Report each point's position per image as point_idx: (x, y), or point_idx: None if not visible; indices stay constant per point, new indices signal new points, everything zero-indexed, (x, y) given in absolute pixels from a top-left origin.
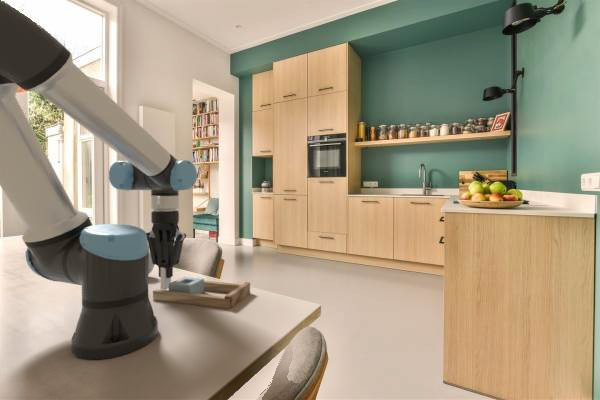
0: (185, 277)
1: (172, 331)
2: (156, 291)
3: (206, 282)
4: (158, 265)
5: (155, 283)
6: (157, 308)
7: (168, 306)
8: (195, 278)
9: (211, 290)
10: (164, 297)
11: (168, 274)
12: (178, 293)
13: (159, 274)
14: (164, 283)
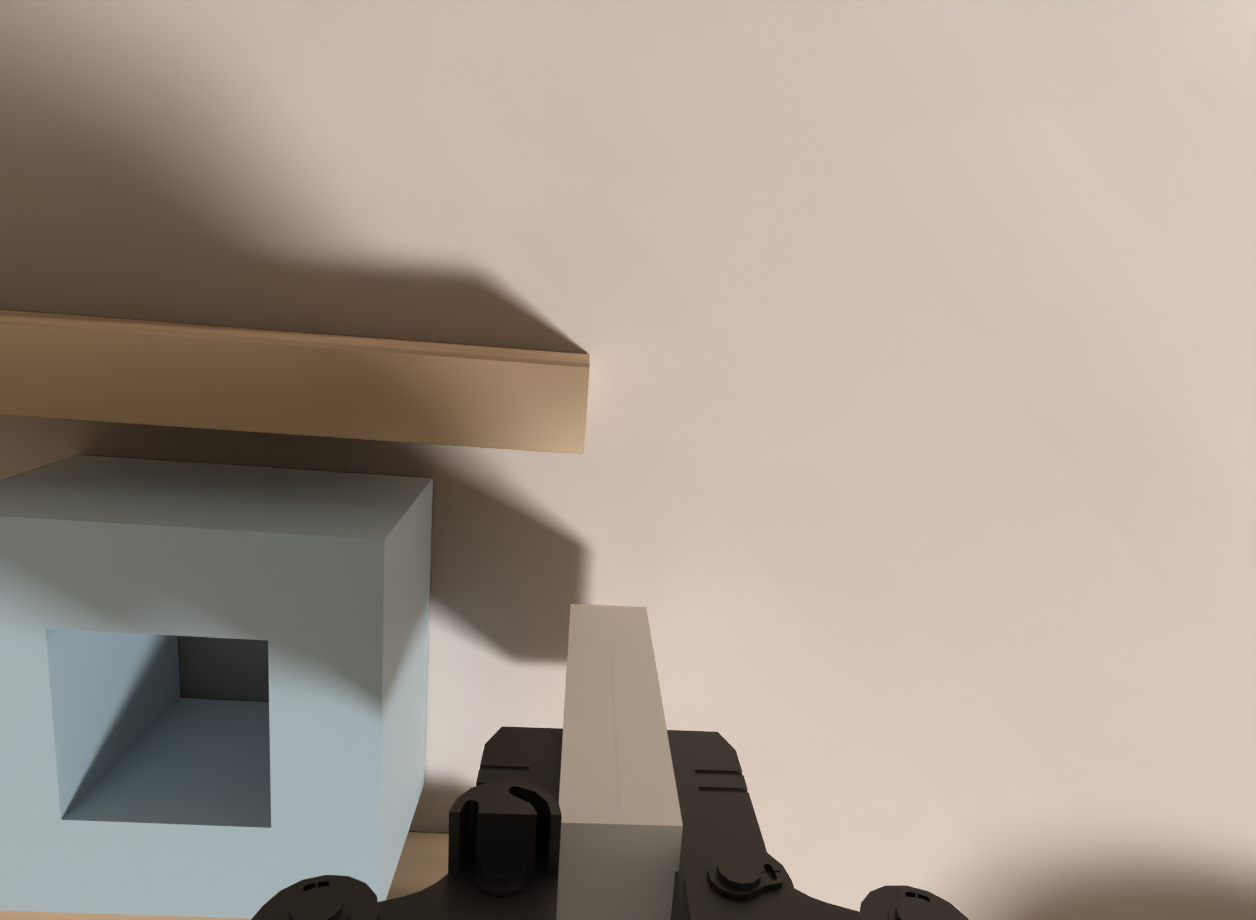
0: None
1: None
2: (520, 364)
3: None
4: (748, 861)
5: (970, 906)
6: (298, 66)
7: (198, 168)
8: (115, 889)
9: None
10: (380, 342)
11: (511, 770)
12: (83, 342)
13: (722, 763)
14: (576, 647)
